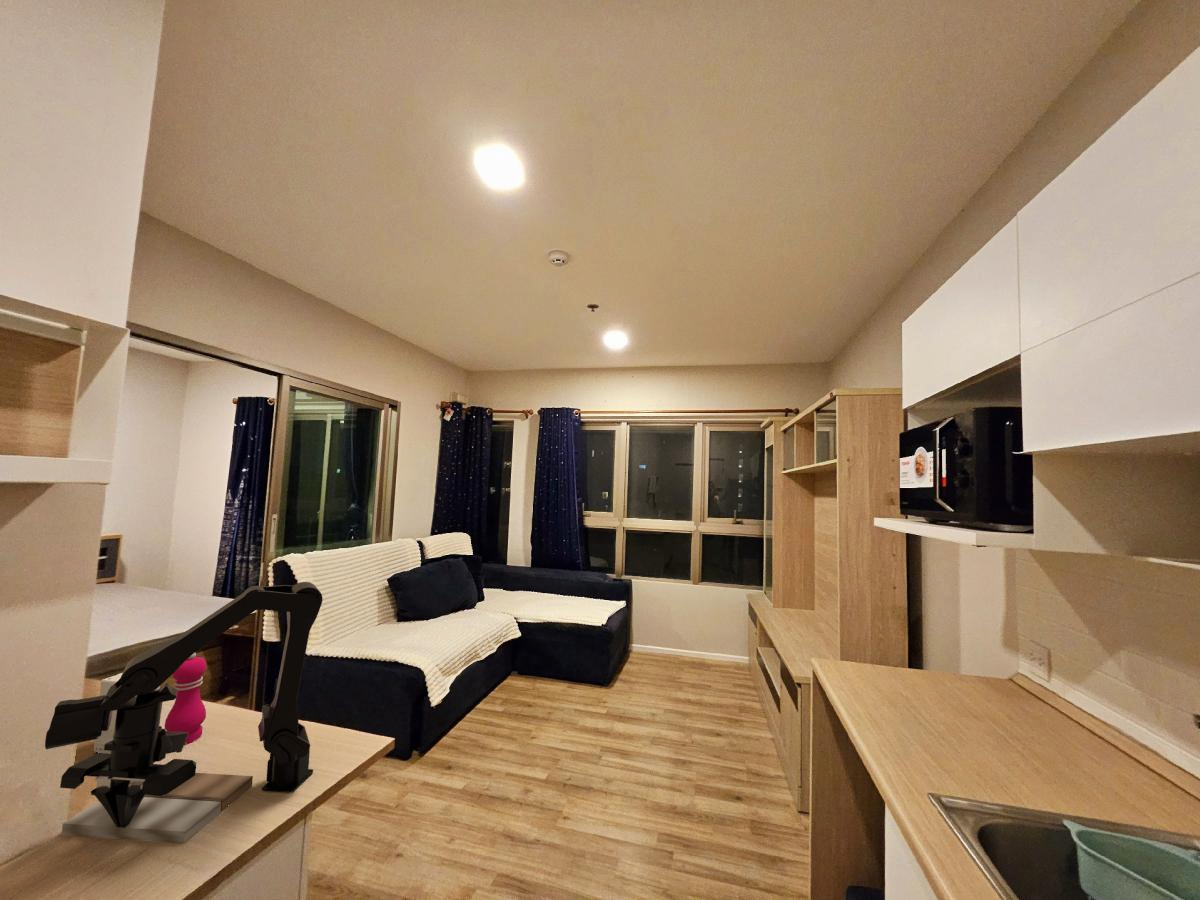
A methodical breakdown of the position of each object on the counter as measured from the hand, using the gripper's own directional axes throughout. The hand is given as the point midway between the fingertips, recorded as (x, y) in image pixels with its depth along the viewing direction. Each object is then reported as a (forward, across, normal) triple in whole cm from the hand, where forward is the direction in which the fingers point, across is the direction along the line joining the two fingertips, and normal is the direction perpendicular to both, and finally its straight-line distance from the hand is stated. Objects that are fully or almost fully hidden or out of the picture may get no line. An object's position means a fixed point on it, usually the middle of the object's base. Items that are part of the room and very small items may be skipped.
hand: (123, 825), depth 78 cm
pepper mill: (+1, +16, -28) cm, 33 cm away
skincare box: (+2, +27, -25) cm, 37 cm away
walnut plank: (+2, 0, -11) cm, 11 cm away
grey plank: (+2, -1, -3) cm, 4 cm away
